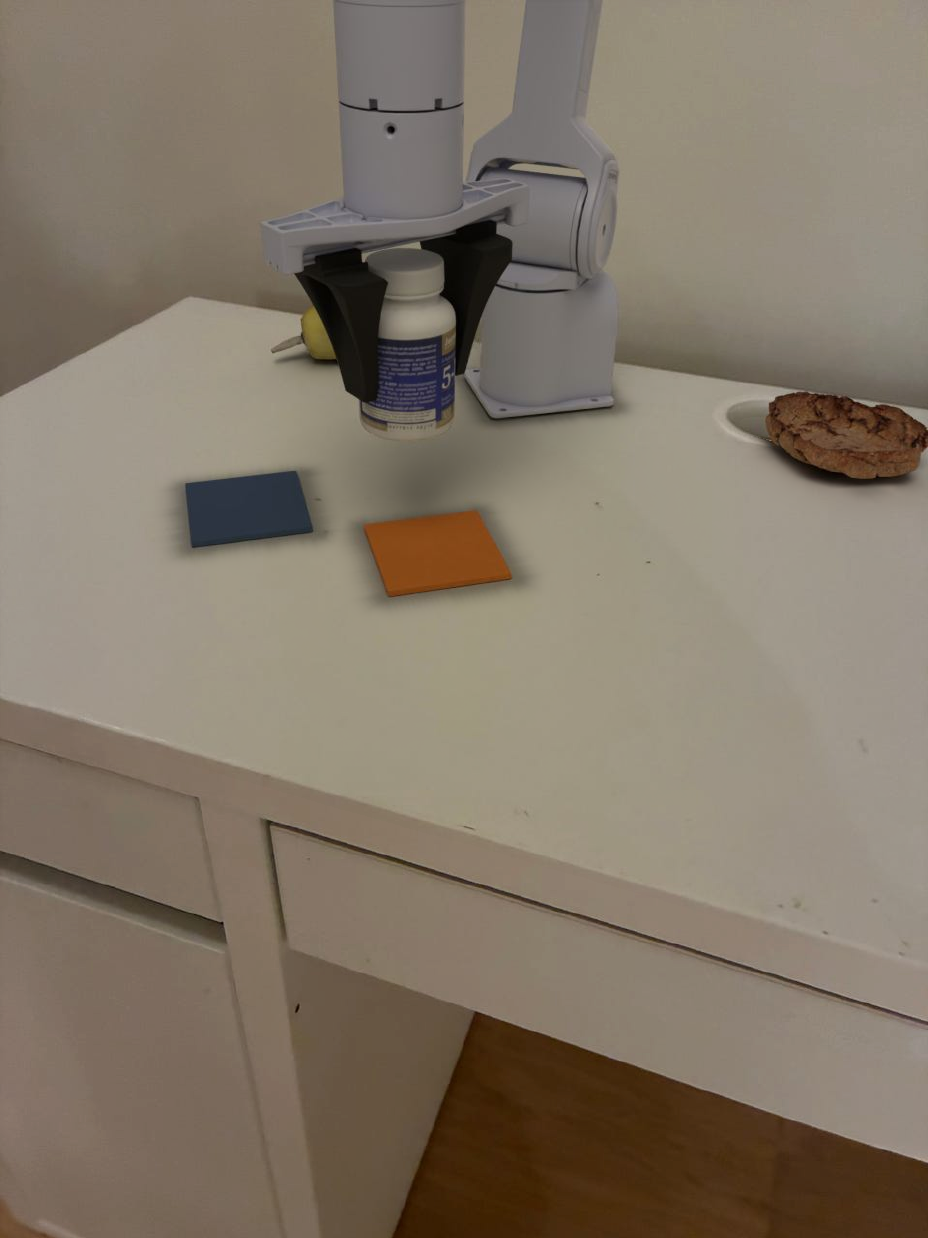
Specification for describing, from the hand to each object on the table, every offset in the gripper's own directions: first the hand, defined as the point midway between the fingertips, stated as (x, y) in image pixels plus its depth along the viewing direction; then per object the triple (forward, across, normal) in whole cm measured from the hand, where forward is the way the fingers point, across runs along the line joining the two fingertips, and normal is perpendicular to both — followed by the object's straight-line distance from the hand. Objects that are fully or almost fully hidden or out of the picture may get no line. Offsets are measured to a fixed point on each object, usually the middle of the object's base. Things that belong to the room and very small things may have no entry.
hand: (406, 381), depth 53 cm
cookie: (+6, -29, +9) cm, 31 cm away
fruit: (+10, -10, -25) cm, 28 cm away
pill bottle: (+3, 0, 0) cm, 3 cm away
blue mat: (+9, +7, -8) cm, 14 cm away
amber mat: (+9, 0, +3) cm, 10 cm away
